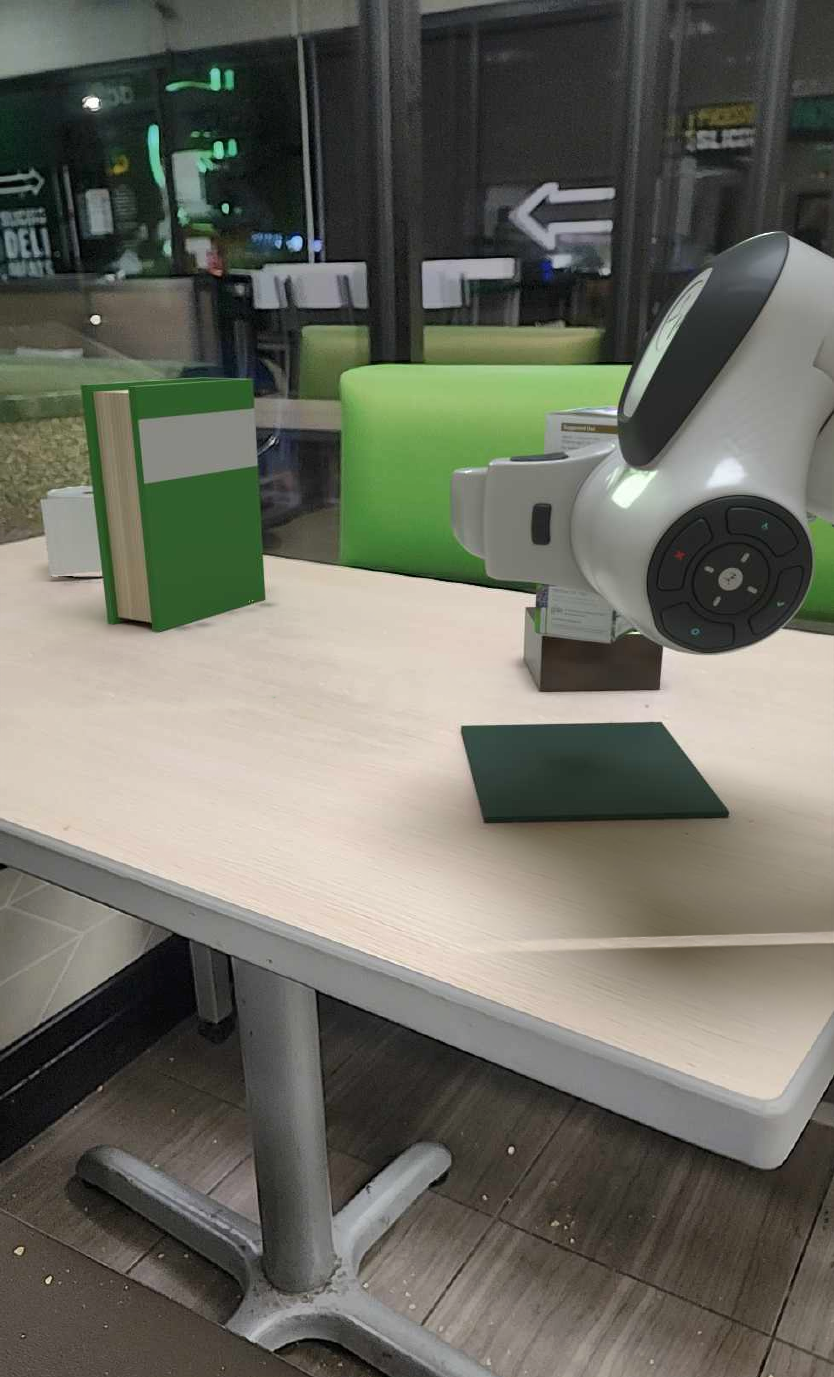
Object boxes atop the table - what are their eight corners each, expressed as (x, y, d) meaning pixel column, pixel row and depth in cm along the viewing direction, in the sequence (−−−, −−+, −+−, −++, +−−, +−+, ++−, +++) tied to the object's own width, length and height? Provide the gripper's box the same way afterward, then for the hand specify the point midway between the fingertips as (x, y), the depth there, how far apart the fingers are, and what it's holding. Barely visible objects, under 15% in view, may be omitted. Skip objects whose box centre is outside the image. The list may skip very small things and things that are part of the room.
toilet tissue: (146, 561, 153) (138, 484, 149) (132, 579, 142) (123, 497, 138) (65, 562, 152) (56, 485, 148) (45, 581, 141) (34, 499, 137)
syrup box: (566, 618, 81) (577, 404, 76) (645, 628, 79) (661, 407, 73) (532, 635, 77) (540, 409, 71) (614, 646, 74) (629, 412, 68)
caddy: (632, 656, 109) (636, 605, 107) (659, 689, 99) (664, 633, 97) (523, 658, 108) (525, 606, 106) (539, 691, 98) (541, 635, 96)
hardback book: (158, 632, 118) (135, 386, 108) (107, 623, 121) (80, 384, 112) (265, 599, 132) (252, 378, 122) (216, 592, 135) (200, 377, 125)
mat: (660, 726, 90) (661, 721, 90) (728, 816, 73) (729, 811, 73) (460, 730, 89) (461, 725, 89) (484, 822, 73) (484, 816, 73)
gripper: (838, 459, 61) (755, 436, 74) (462, 461, 60) (444, 438, 73) (821, 575, 64) (744, 534, 76) (460, 579, 63) (443, 537, 75)
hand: (595, 487), depth 75 cm, fingers closed on syrup box, 8 cm apart
